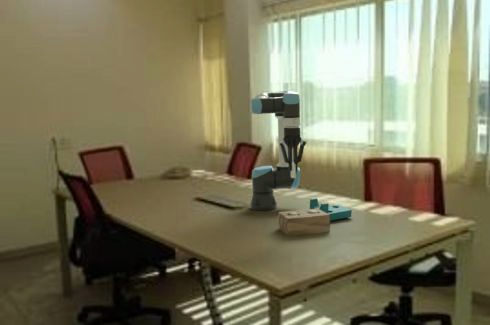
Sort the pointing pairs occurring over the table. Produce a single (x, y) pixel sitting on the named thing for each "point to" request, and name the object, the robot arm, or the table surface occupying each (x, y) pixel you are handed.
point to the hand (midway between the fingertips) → (293, 177)
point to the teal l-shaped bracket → (331, 209)
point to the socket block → (304, 222)
